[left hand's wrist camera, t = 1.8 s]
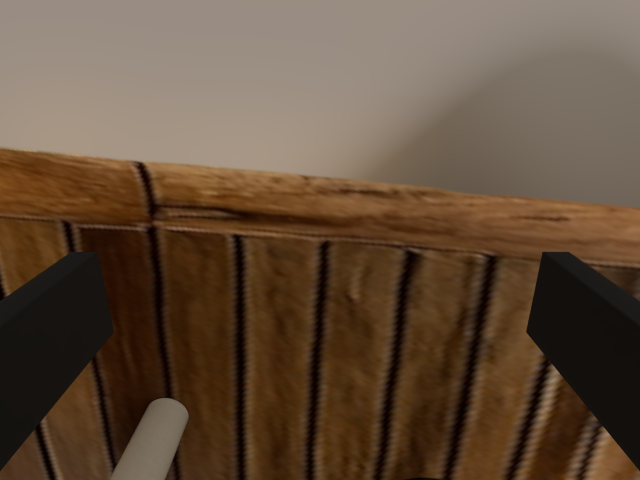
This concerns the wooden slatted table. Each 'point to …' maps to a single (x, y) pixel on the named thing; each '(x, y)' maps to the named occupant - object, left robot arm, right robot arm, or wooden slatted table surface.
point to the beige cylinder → (153, 442)
